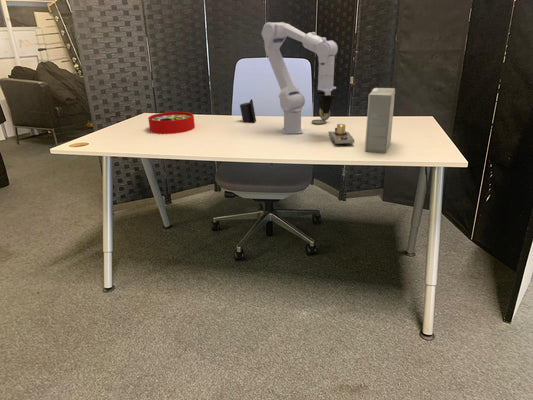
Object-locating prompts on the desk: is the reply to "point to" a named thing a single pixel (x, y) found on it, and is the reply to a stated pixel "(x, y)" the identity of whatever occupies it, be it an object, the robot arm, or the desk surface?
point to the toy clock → (171, 122)
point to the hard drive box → (379, 119)
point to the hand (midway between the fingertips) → (324, 111)
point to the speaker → (248, 112)
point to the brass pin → (340, 129)
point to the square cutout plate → (341, 138)
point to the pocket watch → (321, 117)
